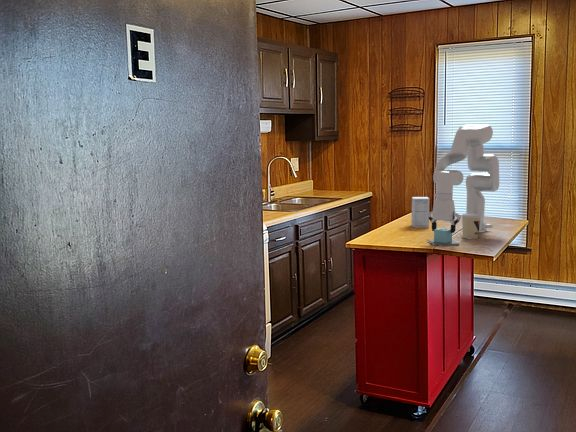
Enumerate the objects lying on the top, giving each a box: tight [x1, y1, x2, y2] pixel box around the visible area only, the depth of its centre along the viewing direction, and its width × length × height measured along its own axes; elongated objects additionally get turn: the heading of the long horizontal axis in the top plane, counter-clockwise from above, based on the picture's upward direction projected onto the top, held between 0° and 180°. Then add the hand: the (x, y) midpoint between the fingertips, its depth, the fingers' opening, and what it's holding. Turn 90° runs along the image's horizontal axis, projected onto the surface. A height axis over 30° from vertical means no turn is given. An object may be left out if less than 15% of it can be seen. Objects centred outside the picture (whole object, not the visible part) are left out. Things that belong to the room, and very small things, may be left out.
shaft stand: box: [426, 228, 460, 247], centre depth 295 cm, size 12×12×7 cm
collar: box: [433, 227, 453, 243], centre depth 295 cm, size 6×6×6 cm
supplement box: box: [410, 196, 430, 228], centre depth 349 cm, size 10×9×17 cm
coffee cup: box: [461, 212, 481, 240], centre depth 312 cm, size 9×9×12 cm
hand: (443, 231), depth 295 cm, fingers open, 9 cm apart
